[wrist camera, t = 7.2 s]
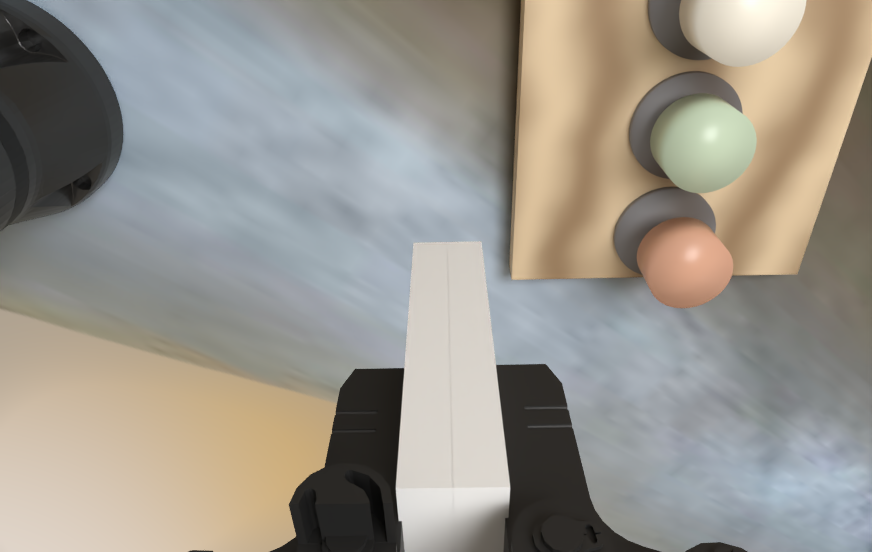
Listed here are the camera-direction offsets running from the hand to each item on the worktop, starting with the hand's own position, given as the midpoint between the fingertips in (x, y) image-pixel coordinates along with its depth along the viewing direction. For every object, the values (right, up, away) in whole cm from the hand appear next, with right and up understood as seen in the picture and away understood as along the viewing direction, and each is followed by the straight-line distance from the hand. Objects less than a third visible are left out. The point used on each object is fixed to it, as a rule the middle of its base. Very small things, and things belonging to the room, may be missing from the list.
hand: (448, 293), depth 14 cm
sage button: (+16, +10, +25) cm, 32 cm away
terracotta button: (+16, +2, +29) cm, 33 cm away
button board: (+16, +12, +29) cm, 35 cm away
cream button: (+16, +16, +20) cm, 30 cm away
